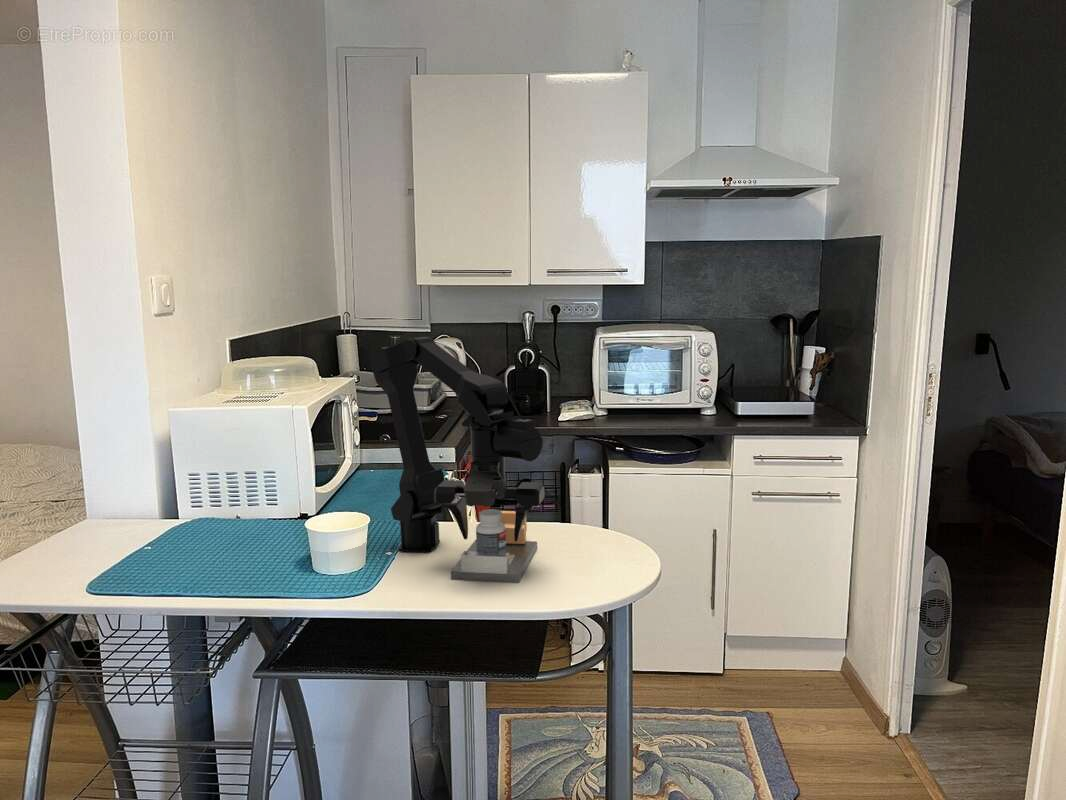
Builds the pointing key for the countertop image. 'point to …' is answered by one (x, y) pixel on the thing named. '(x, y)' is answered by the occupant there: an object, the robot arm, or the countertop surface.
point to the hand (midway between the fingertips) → (491, 539)
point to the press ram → (513, 527)
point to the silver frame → (494, 563)
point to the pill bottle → (491, 532)
